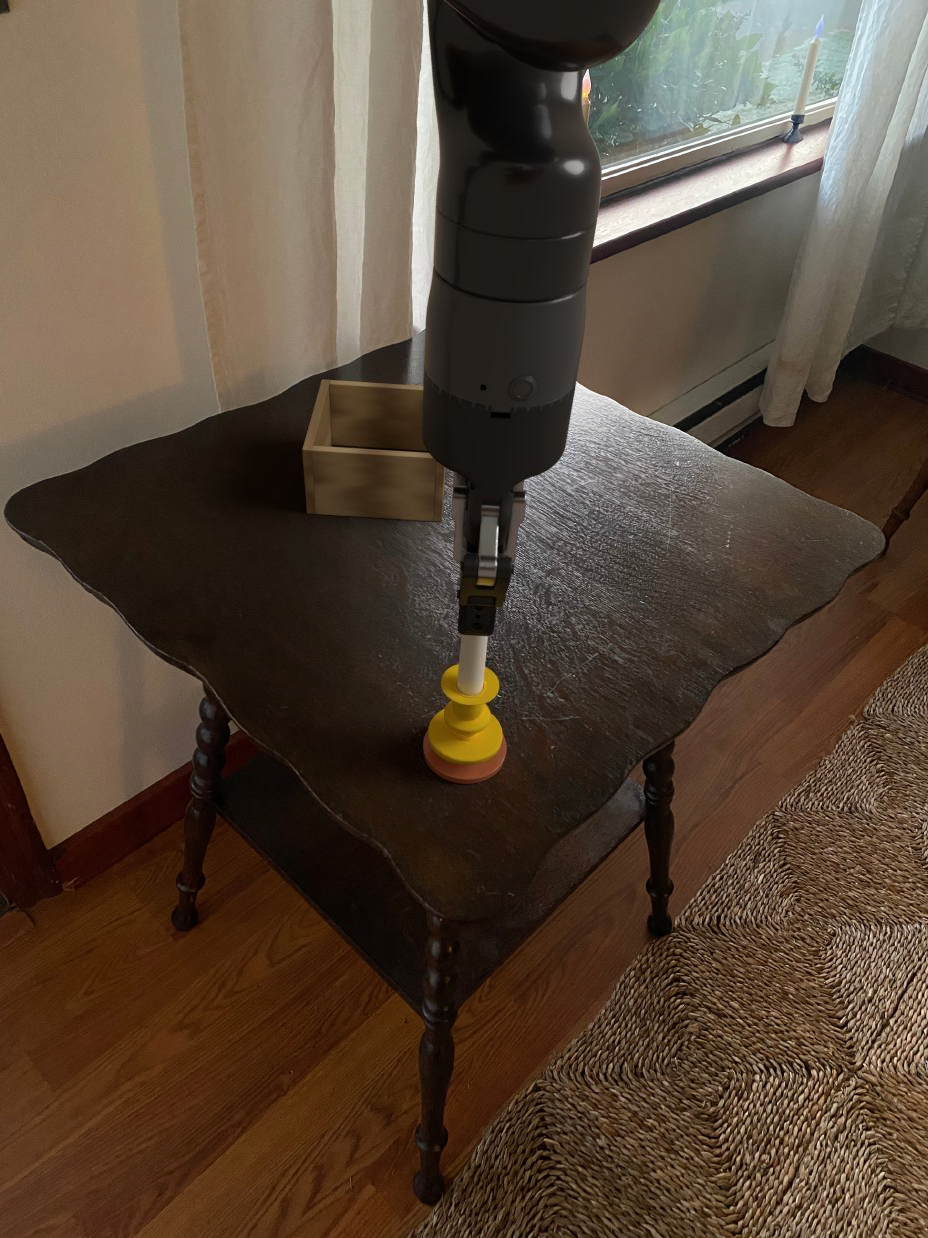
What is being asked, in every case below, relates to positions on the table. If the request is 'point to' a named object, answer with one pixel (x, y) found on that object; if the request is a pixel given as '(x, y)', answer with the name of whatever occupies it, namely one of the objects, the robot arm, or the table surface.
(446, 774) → the coaster
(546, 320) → the robot arm
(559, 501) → the table surface
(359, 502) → the crate
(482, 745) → the candle
